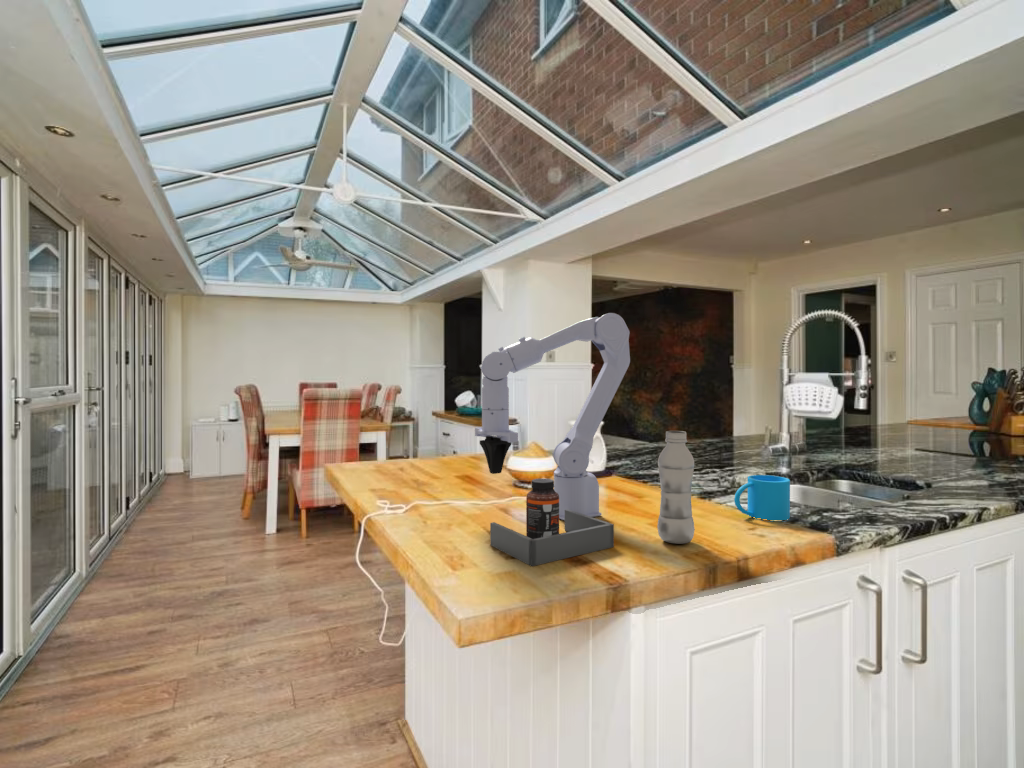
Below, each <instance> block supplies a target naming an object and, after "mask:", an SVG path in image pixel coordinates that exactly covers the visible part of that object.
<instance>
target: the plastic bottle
mask: <svg viewBox="0 0 1024 768" xmlns="http://www.w3.org/2000/svg"><path fill="white" fill-rule="evenodd" d="M664 441H665V442H666V445H665V446H664V448H663V449H662V450H661V452H660V453H659V456H658V459H657V466H658V473H659V480H660V483H659V485H660V490H661V491H660V505H659V506H660V507H659V515H658V520H657V533H658V536H659V538H660V539H661V540H662V541H663V542H665V543H670V544H683V545H684V544H688V543H690V542H691V541H692V540H693V539H694V534H695V521H694V517H693V510H692V486H693V485H692V484H693V476H694V470H695V459H694V457H693V454H692V453H691V452H690V450H689V448H688V447H687V446H686V443H688V439H687V432H686V431H683V430H667V431H665V439H664Z"/></svg>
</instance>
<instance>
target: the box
mask: <svg viewBox="0 0 1024 768" xmlns="http://www.w3.org/2000/svg"><path fill="white" fill-rule="evenodd" d="M614 526H615V525H614V524H613V523H611V522H608V521H606V520H602V519H598V518H596V517H590V516H587V515H584V514H581V513H578V512H574V511H571V510H568V509H567V510H565V520H564V531H566V532H561V533H559V534H556V535H551V536H546V537H541V538H536V539H532V538H529V537H527V536H526V535H525V534H522V533H520V532H517V530H516V531H515V530H513V529H511V528H508V527H506V526H504V525H501V524H499V523H497V522H495V521H494V522H490V530H489V531H490V532H489V533H490V535H489V536H490V537H489V538H490V546H491V547H493V548H495V549H498V550H499V551H501V552H503V553H505V554H507V555H509V556H511V557H513V558H515V559H517V560H519V561H521V562H522V563H524V564H526V565H528V566H530V567H534V566H539V565H543V564H547V563H552V562H555V561H556V562H557V561H560V560H564V559H569V558H573V557H577V556H581V555H585V554H590V553H594V552H598V551H599V552H600V551H603V550H606V549H611V548H614V547H615V545H614V543H615V542H614V541H615V540H614V539H615V538H614V537H615V527H614Z"/></svg>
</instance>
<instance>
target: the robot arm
mask: <svg viewBox="0 0 1024 768" xmlns="http://www.w3.org/2000/svg"><path fill="white" fill-rule="evenodd" d="M630 332H631V331H630V329H629V328H628V326H627V324H626V322H625V320H624V318H623V317H622V316H621V315H620V314H617V313H615V312H608V313H605V314H603V315H601V316H600V317H599V316H595V317H590V318H587V319H584V320H581V321H577V322H576V323H574V324H571V325H570V326H567V327H565V328H562V329H560V330H558V331H556V332H553V333H551V334H549V335H548V336H545V337H543V338H540V339H536V338H533V337H527V338H526V337H525V336H523V337H520V338H519V339H518V342H515V343H512V344H510V345H508V346H506V347H503V346H500V347H498V351H492V352H490V353H488V354H487V355H486V356H485V357H484V358H483V360H482V361H481V362H482V363H481V367H480V369H481V373H482V375H484V376H483V378H482V380H481V381H482V382H481V383H482V385H483V386H482V387H481V426H479V427H478V426H476V427H474V437H483V438H484V439H483V440H482V439H481V440H479V445H480V446H481V448H482V450H483V453H484V455H485V459H486V463H487V467H488V470H489V473H490V474H491V475H493V474H494V475H496V474H502V471H503V467H504V463H505V459H506V456H507V454H508V452H509V449H510V447H511V446H512V443H518V442H519V432H515V431H513V430H511V429H510V425H509V424H510V416H509V415H510V405H509V404H510V402H509V399H510V396H509V392H510V391H509V390H510V389H509V387H508V375H509V374H510V372H511V373H513V374H514V373H517V372H520V371H522V370H525V369H527V368H529V367H532V366H534V365H536V364H539V363H540V362H542V360H543V357H544V355H545V354H546V353H548V352H551V351H554V350H556V349H559V348H560V347H561V348H562V347H563V346H566V345H568V344H570V343H573V342H576V341H580V342H590V341H591V342H592V344H594V346H595V347H596V348H597V349H598V350H599V353H600V355H601V358H602V361H603V364H602V367H601V369H600V371H599V373H598V374H597V377H596V379H595V381H594V384H593V385H592V387H591V389H590V392H589V393H588V395H587V397H586V400H585V401H584V403H583V405H582V408H581V409H580V412H579V413H578V416H576V417H577V418H576V419H575V422H574V423H573V425H572V428H570V430H569V431H568V432H567V433H566V435H565V437H564V438H563V440H562V441H560V442H559V443H557V445H556V446H555V447H554V450H553V453H552V454H553V455H552V456H553V460H554V462H555V464H556V465H557V466H556V469H555V470H554V471H553V481H554V491H555V492H557V493H558V495H559V520H562V521H565V510H567V509H568V510H571V511H574V512H578V513H581V514H584V515H587V516H590V517H593V518H596V517H601V516H602V515H603V514H602V512H600V485H599V484H600V483H599V481H598V479H597V477H596V476H595V475H594V474H593V473H592V472H588V471H587V469H588V467H589V464H590V453H591V450H592V448H593V443H594V437H595V435H596V433H597V431H598V429H599V427H600V425H601V423H602V421H603V420H604V417H605V415H606V413H607V411H608V408H610V405H611V403H612V401H613V399H614V397H615V394H616V393H617V391H618V389H619V387H620V385H621V383H622V381H623V380H624V376H625V374H626V373H627V370H628V368H629V366H630V363H631V356H630V352H631V351H630V342H629V341H630V340H629V339H630V334H631V333H630Z"/></svg>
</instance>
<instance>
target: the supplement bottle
mask: <svg viewBox="0 0 1024 768" xmlns="http://www.w3.org/2000/svg"><path fill="white" fill-rule="evenodd" d="M531 488H532V489H531V490H530V491H528V492H527V493H526V498H525V499H526V512H525V513H526V517H525V518H526V519H525V520H526V526H525V528H526V535H525V536H527V537H529V538H532V539H536V538H541V537H546V536H551V535H556V534H560V519H559V495H558V493H557V492H555V491H554V479H551V478H533V479H532V480H531Z"/></svg>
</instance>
